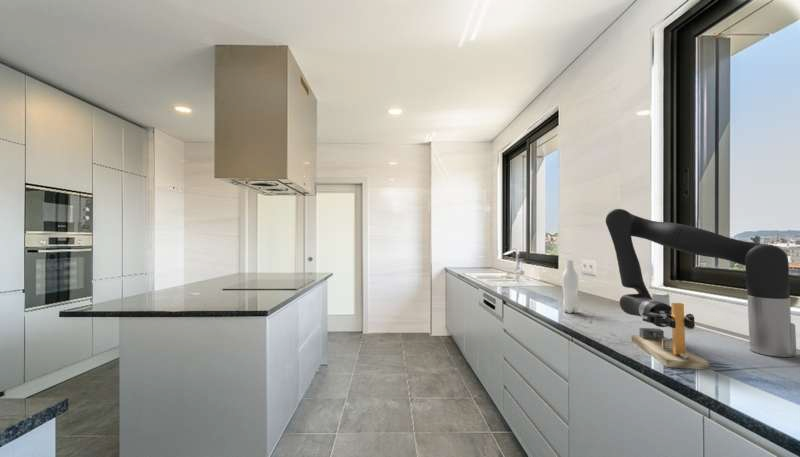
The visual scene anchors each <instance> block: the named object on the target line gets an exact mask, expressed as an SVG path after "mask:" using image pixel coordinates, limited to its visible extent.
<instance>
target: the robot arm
mask: <svg viewBox="0 0 800 457" xmlns="http://www.w3.org/2000/svg"><path fill="white" fill-rule="evenodd" d="M605 224H606V228H607V229H608V232H609V234H610V238H611V240H612V243H613V246H614V251H615V254H616V259H617V266H618V271H619V276H620V282H621V285H622V287H624V288H627V289H634V290H635V291H636V292H637V293H629V294H628V293H627V294H624V295H622V296H621V297H620V299H619V307H620V308H621V310H622V311H623V312H624V313H625V314H627V315H631V316H636V317H641V318H642V322H646V323H648V324H653V325H655V326H656V327H659V328H667V327H670V328H671V329H672V328H676V322H675V320H673V319H672V308H671V305H670V306H669V305H667V304H665V303H662V302H660V301H657V300H653V299H652V295H651V294H650V292H649V290H648V288H647V287H646V284H645V282H644V278H643V273H642V268H641V264H640V261H639V258H638V256H637V255H638V254H637V253H636V250H635V247H634V244H633V239H632V237H634V238H635V237H636V238H640V239H645V240H648V241H651V242H653V243H655V244H658V245H661V246H664V247H667V248H670V249H673V250H677V251H680V252H684V253H687V254H690V255H691V254H692V255H696V256H700V257H701V256H702V257H707V258H715V259H722V260H726V261H729V262H733V263H735V264H739V265H741V266H744V267H745V280H746V281H745V283H746V291H747V313H748V314H747V316H748V338H749V340H748V341H749V343H748V344H749V350H750V351H752V352H754V353H758V354H761V355H764V356H771V357H779V358H790V357H797V338H796V336H797V334H796V333H797V332H796V324H795V323H793V322H792V318H791V317H792V315H791V313H792V312H791V294H790V293H791V292H790V291H791V288H790V271H789V270H790V266H789V265H790V264H789V257H788V255H787V252H785V251H784V249H782V248H781V247H778V246H776V245H773V244H765V243H757V242H752V241H745V240H740V239H734V238H731V237H728V236H725V235H722V234H718V233H717V232H713V231H710V230H706V229H702V228H699V227H695V226H693V225H692V226H691V225H686V224H682V223H675V222H667V221H666V222H665V221H654V220H651V219H648V218H647V219H646V218H643V217H640V216H638V215H635V214H633V213H630V212H629V211H627V210H625V209H622V208H615V209H612V210H611V211H609V212H608V213H607V215H606V217H605ZM684 326H685V328H688V329H689V330H692V329H693V330H694V328H695V326H696V324H695V316H694V314H692V313H687V314H685V315H684Z"/></svg>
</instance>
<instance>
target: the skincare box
mask: <svg viewBox="0 0 800 457" xmlns="http://www.w3.org/2000/svg"><path fill="white" fill-rule="evenodd" d="M651 297H652V299H653V300H657V301H660V302H662V303H665V304H667V305H669V306H671V302H670V300H671V299H670V294H669V293H664V292H656V293H652V295H651Z"/></svg>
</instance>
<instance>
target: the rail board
mask: <svg viewBox="0 0 800 457" xmlns="http://www.w3.org/2000/svg"><path fill="white" fill-rule="evenodd" d="M664 339H669V338H667V336H664ZM631 342H632V343H634V344H635V345H637V346H638V347H639V348H641V349H642V350H644V351H645V352H646V353H648V354H649V355H650V356H652V357H653V358H654V359H655V360H657V361H658V362H660V363H661V364H663V365H664V366H665V367H667V368H678V369H693V370H694V369H696V370H710V362H709V361H707V360H706V359H704V358H703V357H701V356H699V355H697V354H695V353H694V352H692V351H690V350H688V349H687V348H685V353H686V355H687V356H688V357H689V359H685V358H683V357H682V356H679V355H675V354H673V350H669V349H662V340H653V339H643V338H641V337H640V335H631ZM665 347H673V342H671V341H665Z"/></svg>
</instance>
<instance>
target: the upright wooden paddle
mask: <svg viewBox="0 0 800 457" xmlns="http://www.w3.org/2000/svg"><path fill="white" fill-rule="evenodd" d="M684 305H685V304H684V303H682V302H670V306H671V308H672V319H673V320H675V322H676V328H671V330H672V331H671V332H672V333H671V334H672V336H671V337H672V338H668V339H662V349H669V350H673V354H675V355H679V356H682V357H683V358H685V359H689V357H688V356H687V355H686V353H685V349H686V335H685V334H686V330H685V329H686V327H685V326H684V316H685V306H684ZM665 341H671V342H673V347H665Z"/></svg>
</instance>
